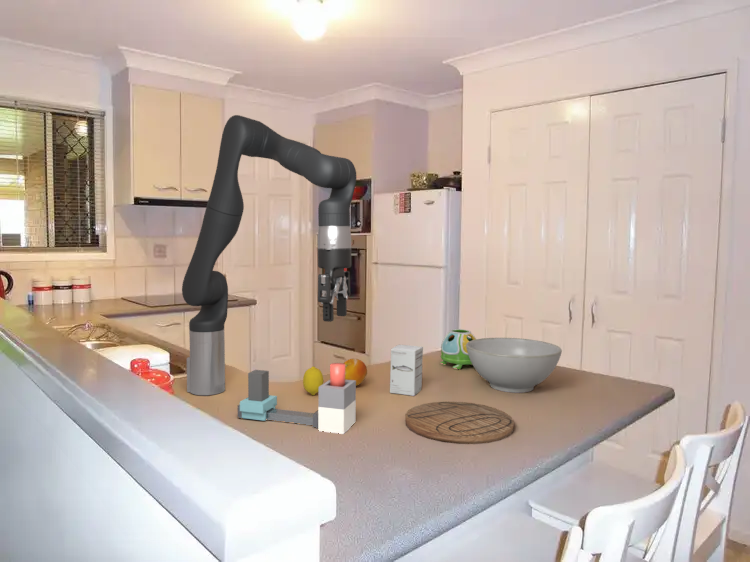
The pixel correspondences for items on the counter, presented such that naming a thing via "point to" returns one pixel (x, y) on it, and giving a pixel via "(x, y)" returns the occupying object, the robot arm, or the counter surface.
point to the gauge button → (337, 374)
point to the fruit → (355, 370)
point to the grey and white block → (337, 407)
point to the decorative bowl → (513, 362)
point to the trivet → (459, 422)
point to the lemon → (312, 380)
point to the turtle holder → (456, 348)
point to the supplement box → (406, 369)
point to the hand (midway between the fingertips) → (335, 318)
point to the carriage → (257, 396)
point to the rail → (290, 416)
